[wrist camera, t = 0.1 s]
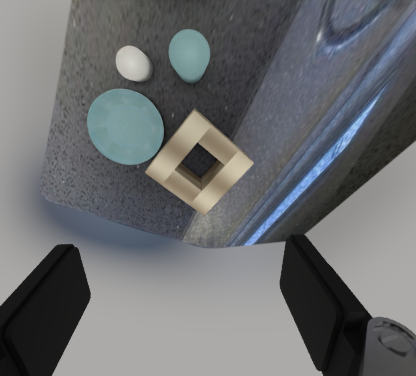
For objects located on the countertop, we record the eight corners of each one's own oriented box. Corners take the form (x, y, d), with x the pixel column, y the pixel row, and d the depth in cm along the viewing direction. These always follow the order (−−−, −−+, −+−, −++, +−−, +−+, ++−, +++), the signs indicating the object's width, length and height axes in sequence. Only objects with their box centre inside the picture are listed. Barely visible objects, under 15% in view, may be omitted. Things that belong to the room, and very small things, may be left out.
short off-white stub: (136, 46, 33) (126, 38, 28) (158, 66, 34) (152, 61, 30) (121, 69, 34) (109, 64, 30) (143, 87, 35) (135, 86, 31)
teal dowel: (188, 47, 34) (186, 18, 21) (209, 67, 35) (218, 51, 22) (172, 70, 35) (160, 55, 22) (192, 89, 36) (192, 85, 23)
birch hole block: (194, 107, 37) (194, 109, 31) (245, 153, 40) (254, 163, 35) (151, 161, 40) (144, 172, 34) (202, 200, 43) (204, 215, 38)
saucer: (170, 99, 36) (169, 100, 34) (159, 167, 41) (157, 171, 39) (95, 80, 35) (89, 79, 33) (91, 153, 39) (85, 156, 37)
